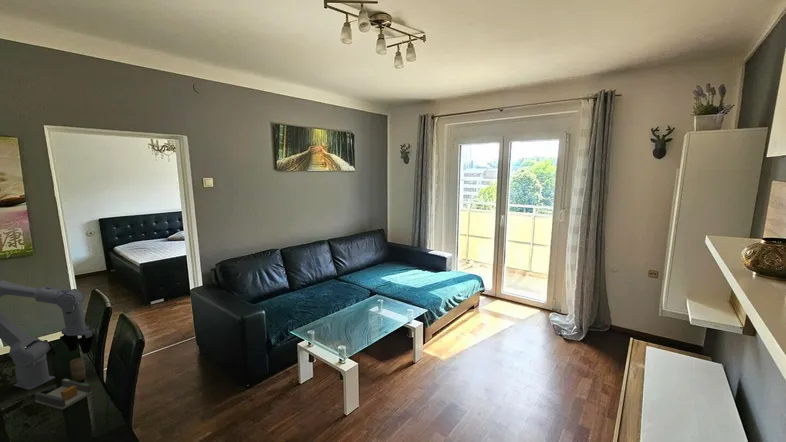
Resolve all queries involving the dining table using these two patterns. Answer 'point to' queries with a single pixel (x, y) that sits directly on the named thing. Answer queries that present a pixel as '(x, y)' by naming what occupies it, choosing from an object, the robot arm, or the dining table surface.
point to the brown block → (77, 369)
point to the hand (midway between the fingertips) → (80, 351)
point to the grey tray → (55, 396)
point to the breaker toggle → (69, 392)
